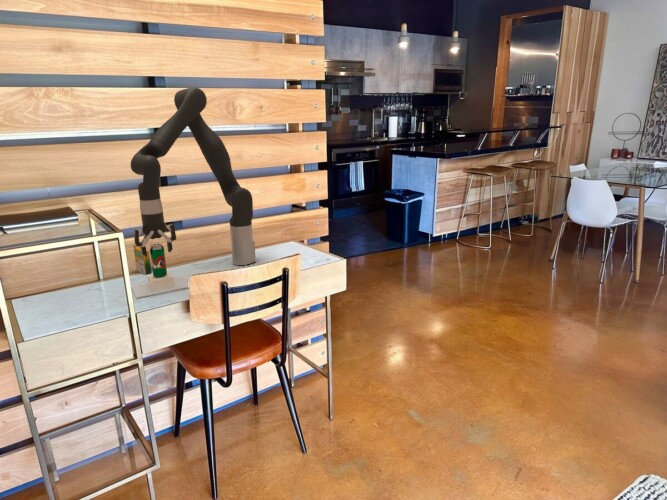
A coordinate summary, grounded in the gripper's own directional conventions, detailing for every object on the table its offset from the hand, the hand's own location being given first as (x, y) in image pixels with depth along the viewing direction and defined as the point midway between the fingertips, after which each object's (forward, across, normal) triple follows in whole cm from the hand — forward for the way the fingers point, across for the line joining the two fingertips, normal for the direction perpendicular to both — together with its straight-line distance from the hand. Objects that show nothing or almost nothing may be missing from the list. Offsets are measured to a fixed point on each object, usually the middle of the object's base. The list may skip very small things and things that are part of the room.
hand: (157, 253), depth 172 cm
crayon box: (+14, +2, -22) cm, 26 cm away
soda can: (+9, 0, 0) cm, 9 cm away
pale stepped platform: (+13, 0, 0) cm, 13 cm away
